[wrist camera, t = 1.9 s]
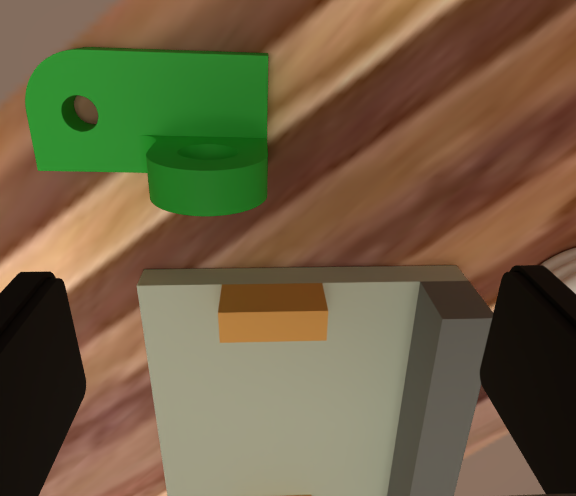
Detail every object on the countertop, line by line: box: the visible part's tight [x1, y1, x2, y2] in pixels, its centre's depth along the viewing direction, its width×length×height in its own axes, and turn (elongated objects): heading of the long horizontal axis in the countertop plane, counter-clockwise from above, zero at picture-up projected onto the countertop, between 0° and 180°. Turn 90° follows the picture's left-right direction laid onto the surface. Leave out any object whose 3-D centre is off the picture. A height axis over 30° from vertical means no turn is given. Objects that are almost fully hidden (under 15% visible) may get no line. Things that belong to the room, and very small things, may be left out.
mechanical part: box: [25, 47, 268, 216], centre depth 23 cm, size 12×6×8 cm, turn 88°
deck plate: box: [137, 265, 493, 496], centre depth 33 cm, size 20×21×6 cm
